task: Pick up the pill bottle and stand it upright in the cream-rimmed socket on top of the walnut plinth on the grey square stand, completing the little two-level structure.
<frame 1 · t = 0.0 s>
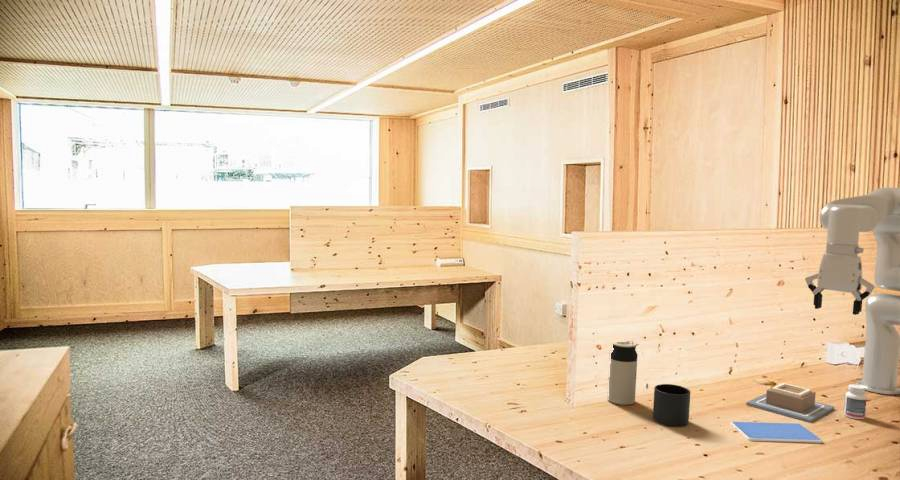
hand: (836, 311, 184), 31 cm above the table, fingers open, 9 cm apart
pill bottle: (854, 417, 189), on the table
travel mug: (621, 401, 197), on the table
grey square stand: (789, 406, 196), on the table
mug: (668, 420, 183), on the table
blue rectangular panel: (774, 435, 175), on the table
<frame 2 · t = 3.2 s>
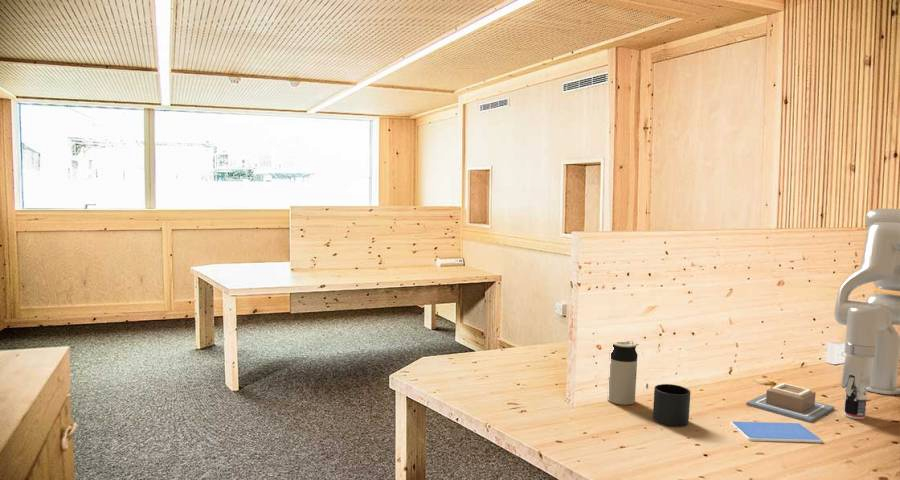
hand: (854, 410, 189), 2 cm above the table, fingers closed on pill bottle, 5 cm apart
pill bottle: (854, 417, 189), on the table, touching gripper
everything else where it was.
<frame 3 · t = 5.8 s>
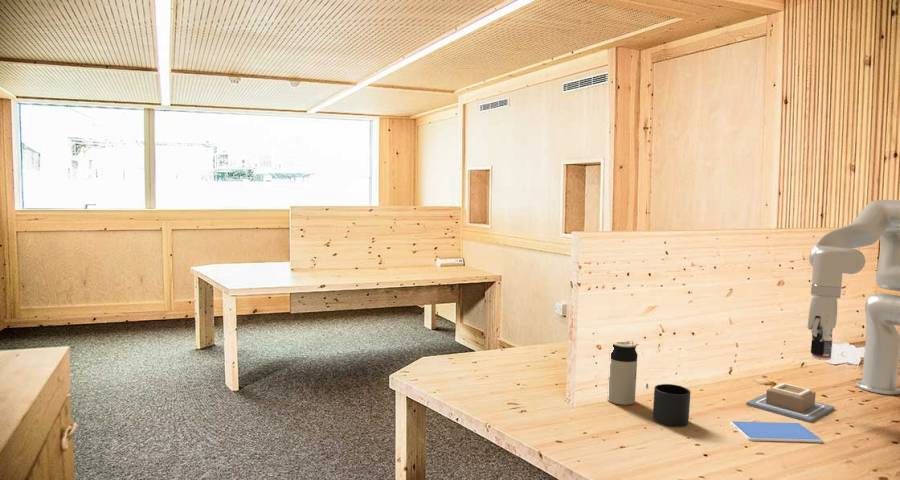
hand: (820, 352, 191), 18 cm above the table, fingers closed on pill bottle, 5 cm apart
pill bottle: (820, 358, 192), point 16 cm above the table, touching gripper
everything else where it was.
when the fingers open (8 cm above the table, at t = 8.8 s): pill bottle drops 1 cm, resting on grey square stand.
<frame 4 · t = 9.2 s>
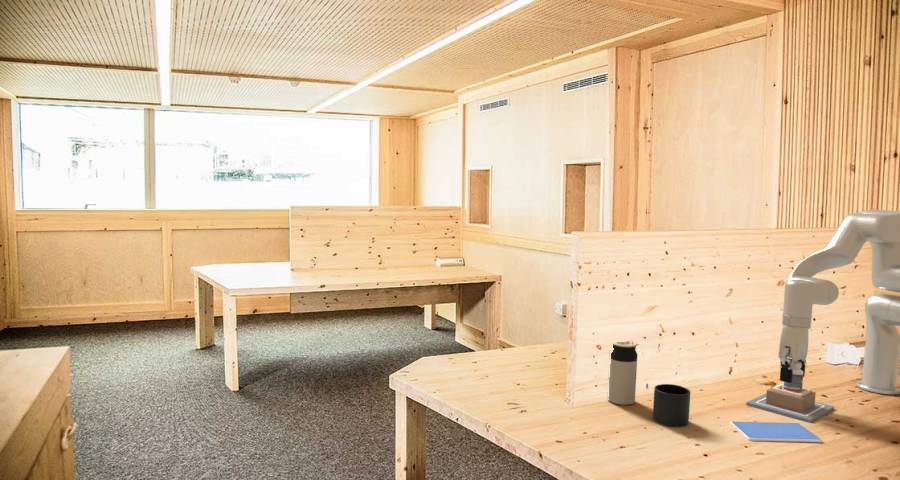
hand: (792, 378, 195), 9 cm above the table, fingers open, 8 cm apart
pill bottle: (791, 391, 196), point 5 cm above the table, touching grey square stand
everything else where it was.
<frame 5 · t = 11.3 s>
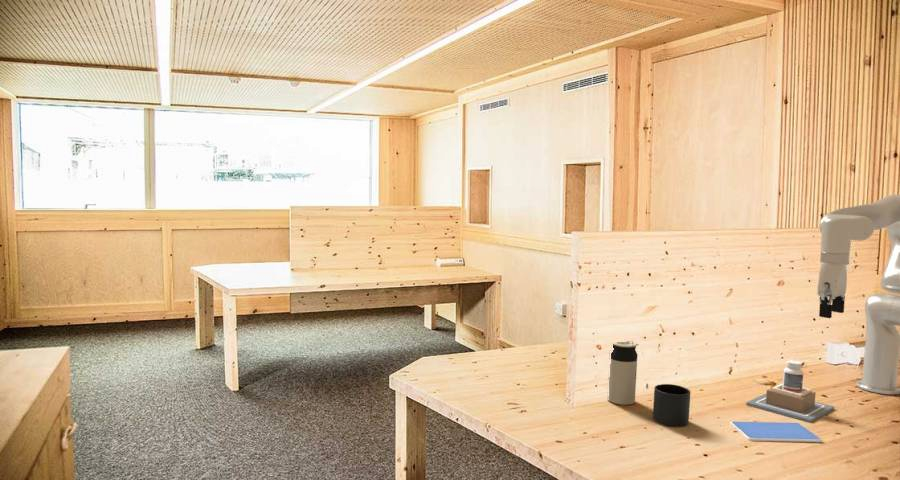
hand: (831, 314, 197), 28 cm above the table, fingers open, 9 cm apart
nothing on the table moved.
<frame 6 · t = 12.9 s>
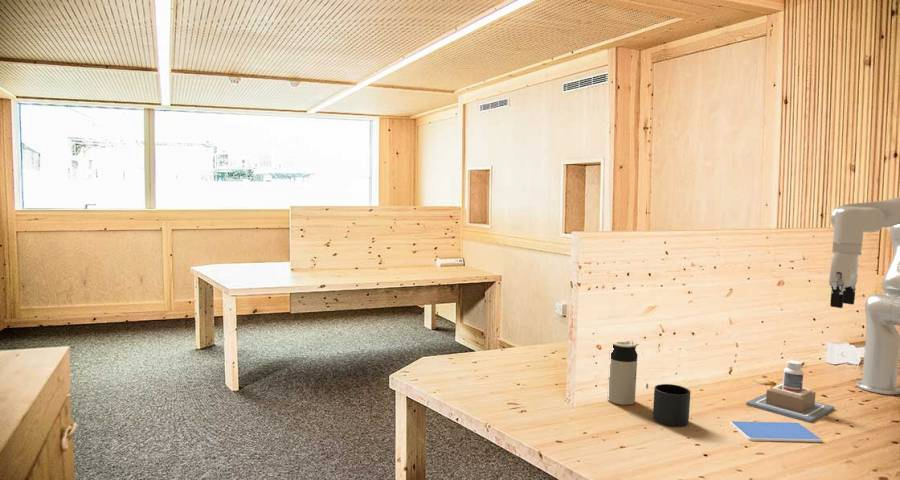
hand: (842, 305, 198), 30 cm above the table, fingers open, 9 cm apart
nothing on the table moved.
at the end: pill bottle 0.4 cm off-centre on the grey square stand, point 4.6 cm above the grey square stand's base; pill bottle tilted 0°; the gripper is holding nothing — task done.
